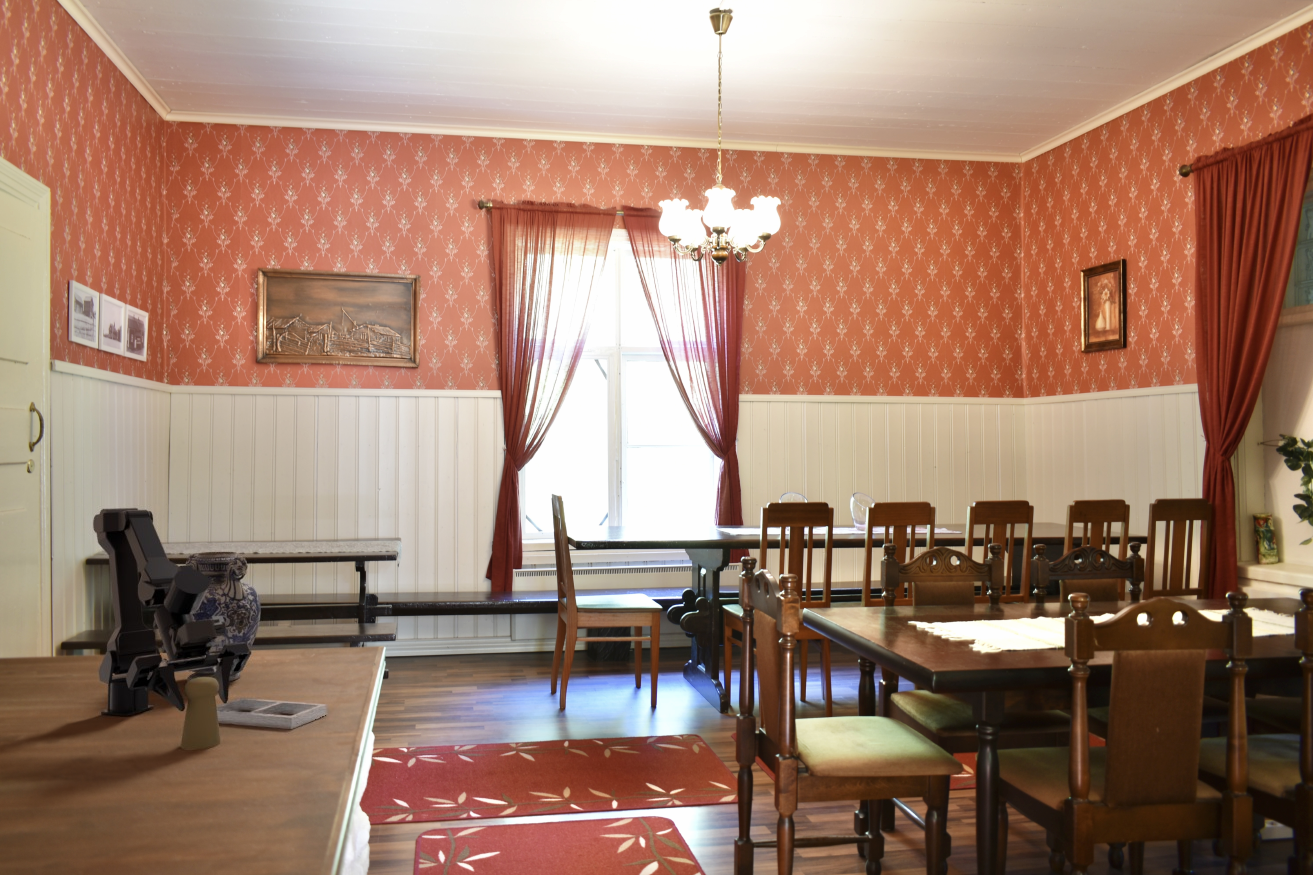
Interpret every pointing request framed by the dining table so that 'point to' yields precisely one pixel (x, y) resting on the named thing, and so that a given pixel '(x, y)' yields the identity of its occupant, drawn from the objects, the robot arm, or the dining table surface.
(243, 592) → the decorative vase
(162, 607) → the robot arm
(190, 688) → the cork
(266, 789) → the dining table surface
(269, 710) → the grey divided tray
